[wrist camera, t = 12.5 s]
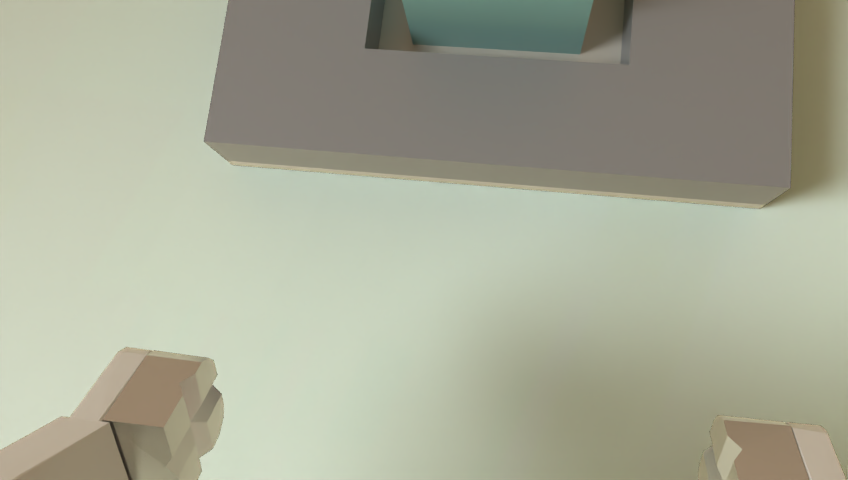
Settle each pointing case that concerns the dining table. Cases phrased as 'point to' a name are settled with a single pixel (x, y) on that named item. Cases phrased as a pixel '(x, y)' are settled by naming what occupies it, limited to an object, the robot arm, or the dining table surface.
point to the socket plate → (517, 100)
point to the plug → (500, 24)
